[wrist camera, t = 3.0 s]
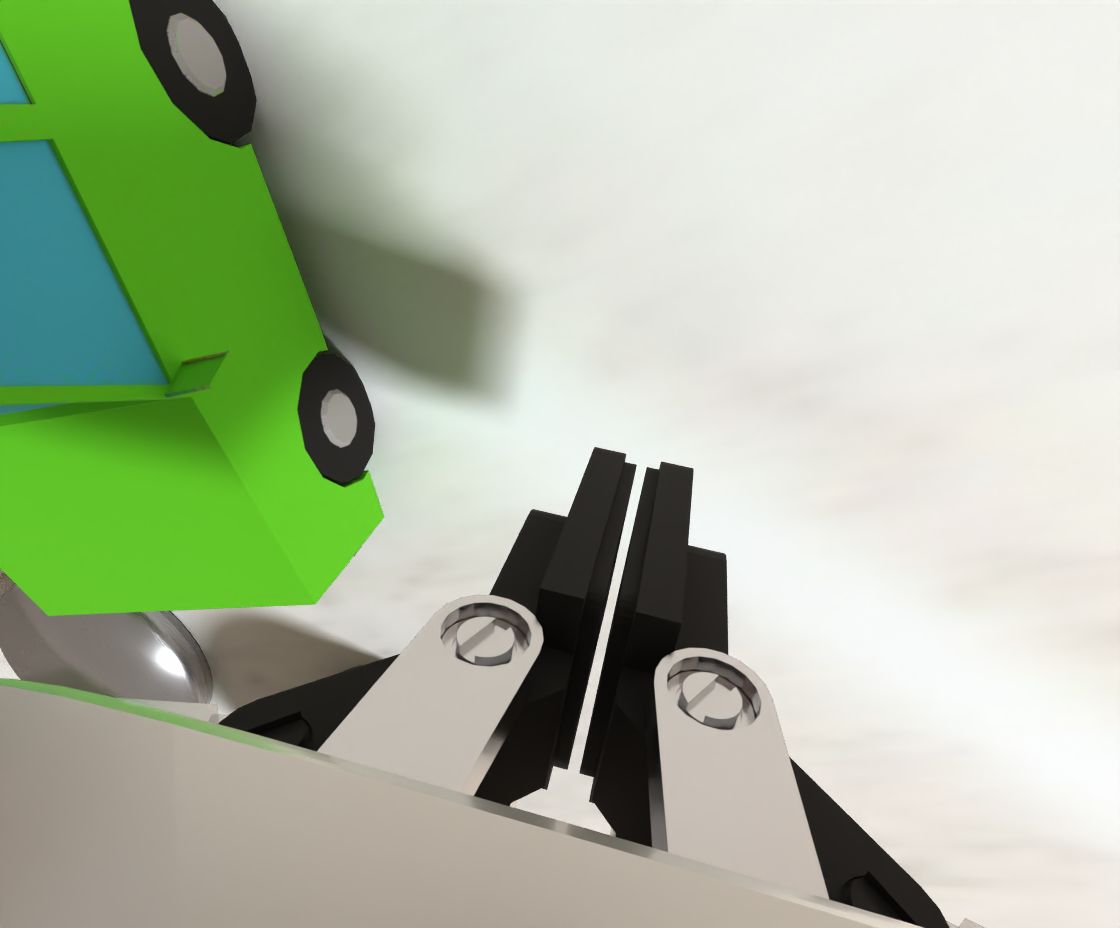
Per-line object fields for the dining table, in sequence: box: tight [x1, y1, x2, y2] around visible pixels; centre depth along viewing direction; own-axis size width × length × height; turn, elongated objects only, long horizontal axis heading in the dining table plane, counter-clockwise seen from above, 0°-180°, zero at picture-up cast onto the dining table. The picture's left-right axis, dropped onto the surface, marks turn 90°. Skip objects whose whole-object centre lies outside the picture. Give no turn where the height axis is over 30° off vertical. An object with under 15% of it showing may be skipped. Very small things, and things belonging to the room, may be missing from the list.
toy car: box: [0, 0, 384, 616], centre depth 13 cm, size 10×13×10 cm
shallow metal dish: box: [0, 585, 213, 704], centre depth 24 cm, size 8×8×1 cm
